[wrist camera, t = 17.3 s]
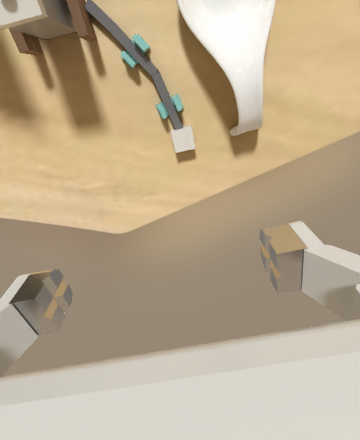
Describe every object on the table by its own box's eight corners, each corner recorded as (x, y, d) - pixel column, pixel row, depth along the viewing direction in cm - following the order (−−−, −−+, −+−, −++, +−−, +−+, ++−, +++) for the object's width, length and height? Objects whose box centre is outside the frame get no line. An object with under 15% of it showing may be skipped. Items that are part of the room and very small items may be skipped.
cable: (109, -17, 30) (105, -23, 28) (200, 141, 40) (201, 144, 38) (84, 6, 31) (79, 2, 29) (178, 155, 41) (179, 158, 39)
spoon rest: (159, -55, 29) (157, -91, 23) (259, -99, 27) (285, -152, 21) (210, 141, 40) (217, 153, 34) (281, 117, 39) (303, 125, 33)
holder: (70, -47, 29) (56, -64, 25) (96, 38, 33) (88, 34, 29) (0, -26, 29) (-22, -40, 26) (35, 55, 33) (19, 52, 30)
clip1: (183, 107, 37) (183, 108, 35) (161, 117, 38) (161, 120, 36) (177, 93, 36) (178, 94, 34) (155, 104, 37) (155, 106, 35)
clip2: (149, 47, 33) (148, 45, 31) (133, 69, 35) (131, 68, 33) (138, 34, 33) (136, 31, 31) (121, 57, 34) (119, 56, 32)
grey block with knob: (63, -16, 30) (7, -65, 20) (79, 32, 32) (37, 11, 22) (27, -5, 30) (-48, -48, 20) (45, 41, 33) (-13, 25, 22)
